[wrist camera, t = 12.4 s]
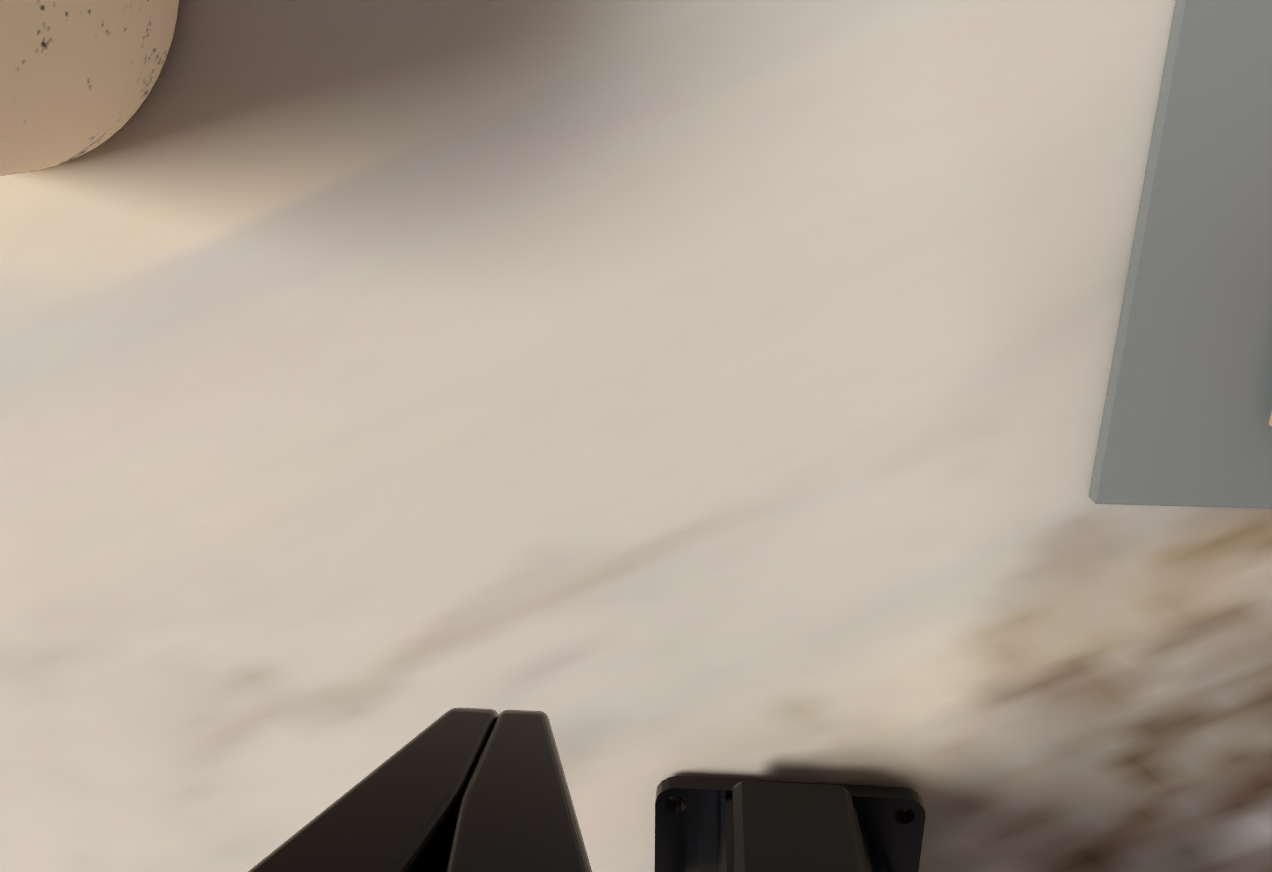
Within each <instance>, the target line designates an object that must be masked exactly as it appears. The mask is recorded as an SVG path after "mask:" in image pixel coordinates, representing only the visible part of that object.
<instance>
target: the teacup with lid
mask: <svg viewBox="0 0 1272 872" xmlns="http://www.w3.org/2000/svg"><path fill="white" fill-rule="evenodd" d="M178 5H179V0H0V176H4V175H10V174H17V173H23V172H30V171H36V170H40V169H44V168H48V167H53V166H56V165H59V164H61V163H64V162H67V161H70V160H72V159H75V158H77V157H79V156H81V155H83V154H85V153H87V152H89V151H91V150H93V149H94V148H96V147H97V146H99V145H100V144H102V143H103V142H105V141H106V140H108V139H109V138H110V137H111V136H112V135H114V134H115V133H116V132H117V131H118V130H119V129H121V128H122V127H123V126H124V125H125V124H126V123H127V121H128V120H129V119H130V118H131V117H132V116H133V115H134V114H135V113H136V111H137V110H138V109H139V107H140V106H141V104H142V103H143V102H144V100H145V99H146V98H147V96H148V94H149V93H150V91H151V89H152V87H153V86H154V84H155V82H156V80H157V78H158V77H159V74H160V72H161V70H162V67H163V65H164V63H165V60H166V58H167V55H168V52H169V48H170V45H171V42H172V39H173V34H174V30H175V25H176V20H177V14H178Z"/></svg>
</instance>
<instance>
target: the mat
mask: <svg viewBox="0 0 1272 872" xmlns="http://www.w3.org/2000/svg"><path fill="white" fill-rule="evenodd" d="M1271 412H1272V0H1176V3H1175V9H1174V14H1173V20H1172V26H1171V31H1170V37H1169V43H1168V49H1167V54H1166V60H1165V66H1164V71H1163V77H1162V83H1161V88H1160V94H1159V100H1158V105H1157V111H1156V117H1155V123H1154V128H1153V134H1152V140H1151V145H1150V151H1149V157H1148V162H1147V168H1146V174H1145V179H1144V185H1143V191H1142V197H1141V202H1140V208H1139V214H1138V219H1137V225H1136V231H1135V236H1134V242H1133V248H1132V253H1131V259H1130V265H1129V270H1128V276H1127V282H1126V288H1125V293H1124V299H1123V305H1122V310H1121V316H1120V322H1119V327H1118V333H1117V339H1116V344H1115V350H1114V356H1113V362H1112V367H1111V373H1110V379H1109V384H1108V390H1107V396H1106V401H1105V407H1104V413H1103V418H1102V424H1101V430H1100V436H1099V441H1098V447H1097V453H1096V458H1095V464H1094V470H1093V475H1092V481H1091V487H1090V492H1089V497H1090V498H1091V499H1092V500H1093V501H1094V502H1095V504H1123V505H1159V506H1194V507H1230V508H1266V509H1272V426H1270V425H1269V420H1270V416H1271Z"/></svg>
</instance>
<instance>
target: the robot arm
mask: <svg viewBox="0 0 1272 872" xmlns="http://www.w3.org/2000/svg"><path fill="white" fill-rule="evenodd" d="M672 796H679V797H682V798H683V800H682V801H677V802H676V801H672V800H670V799H669V798H670V797H672ZM901 807H907V808H910V809H909V810H907V811H906V812H896V810H897V809H898V808H901ZM924 822H925V811H924V807H923V804H922V800H921V798H920V796H919V795H918V793H916V792H915V791H913V790H912V789H908V788H904V787H884V786H863V785H841V784H820V783H799V782H778V781H757V780H735V779H714V778H693V777H670V778H667V779H665V780H663V781H662V782H661V783H660V784H659V785H658V787H657V791H656V802H655V872H918V869H919V861H920V853H921V846H922V838H923V830H924ZM248 872H592V870H591V867H590V863H589V860H588V856H587V853H586V849H585V845H584V842H583V838H582V835H581V831H580V828H579V824H578V821H577V817H576V814H575V810H574V807H573V803H572V800H571V796H570V792H569V789H568V785H567V782H566V778H565V775H564V771H563V768H562V764H561V761H560V757H559V754H558V750H557V747H556V743H555V740H554V736H553V732H552V729H551V725H550V722H549V719H548V716H547V715H546V714H545V713H544V712H541V711H523V710H505V711H503V712H501V713H500V714H499V715H498V713H497V712H496V711H495V710H492V709H476V708H454V709H451V710H449V711H448V712H446V713H445V714H444V715H442V716H441V717H440V718H439V719H438V720H436V721H435V722H434V723H433V724H431V725H430V726H429V727H428V728H426V729H425V730H424V731H423V732H421V733H420V734H419V735H418V736H416V737H415V738H414V739H413V740H411V741H410V742H409V743H408V744H406V745H405V746H404V747H403V748H401V749H400V750H399V751H398V752H396V753H395V754H394V755H393V756H391V757H390V758H389V759H388V760H386V761H385V762H384V763H383V764H382V765H380V766H379V767H378V768H377V769H375V770H374V771H373V772H372V773H370V774H369V775H368V776H367V777H365V778H364V779H363V780H362V781H360V782H359V783H358V784H357V785H355V786H354V787H353V788H352V789H350V790H349V791H348V792H347V793H345V794H344V795H343V796H342V797H340V798H339V799H338V800H337V801H335V802H334V803H333V804H332V805H331V806H329V807H328V808H327V809H326V810H324V811H323V812H322V813H321V814H319V815H318V816H317V817H316V818H314V819H313V820H312V821H311V822H309V823H308V824H307V825H306V826H304V827H303V828H302V829H301V830H299V831H298V832H297V833H296V834H294V835H293V836H292V837H291V838H289V839H288V840H287V841H286V842H284V843H283V844H282V845H281V846H280V847H278V848H277V849H276V850H275V851H273V852H272V853H271V854H270V855H268V856H267V857H266V858H265V859H263V860H262V861H261V862H260V863H258V864H257V865H256V866H255V867H253V868H252V869H251V870H250V871H248Z"/></svg>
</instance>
